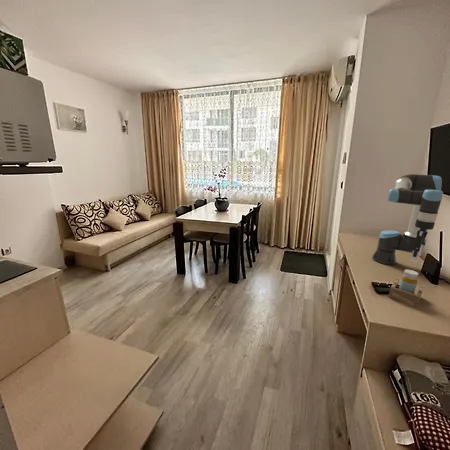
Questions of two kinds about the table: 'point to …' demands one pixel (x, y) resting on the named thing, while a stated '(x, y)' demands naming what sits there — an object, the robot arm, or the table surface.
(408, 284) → the bottle
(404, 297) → the u rest
